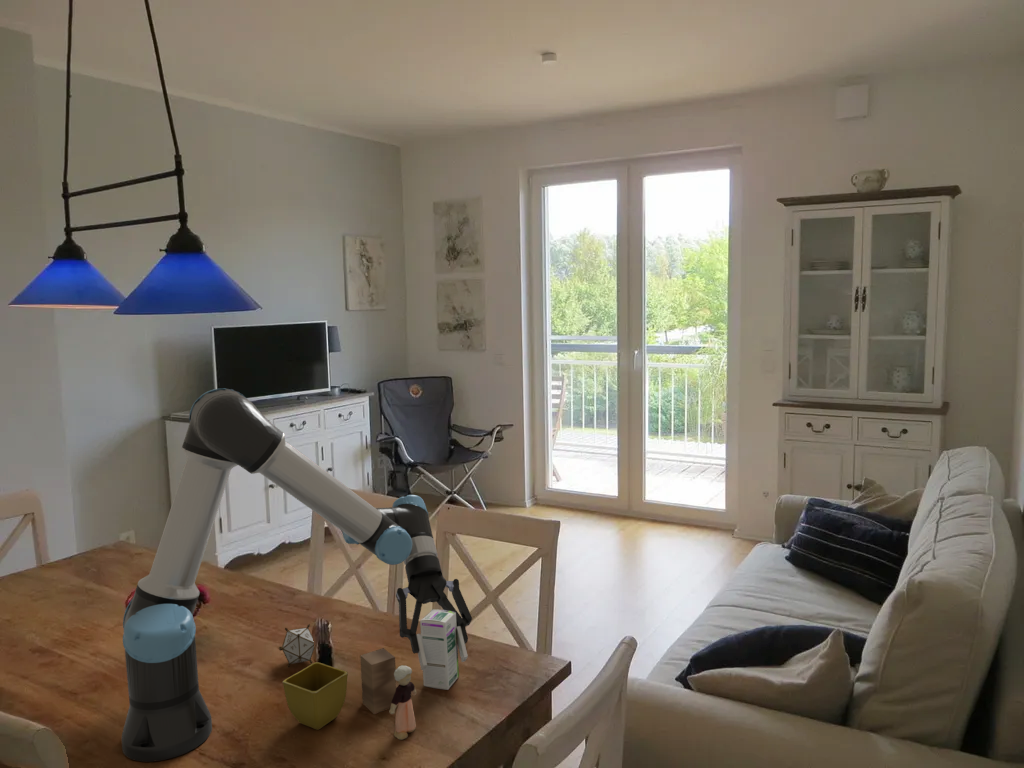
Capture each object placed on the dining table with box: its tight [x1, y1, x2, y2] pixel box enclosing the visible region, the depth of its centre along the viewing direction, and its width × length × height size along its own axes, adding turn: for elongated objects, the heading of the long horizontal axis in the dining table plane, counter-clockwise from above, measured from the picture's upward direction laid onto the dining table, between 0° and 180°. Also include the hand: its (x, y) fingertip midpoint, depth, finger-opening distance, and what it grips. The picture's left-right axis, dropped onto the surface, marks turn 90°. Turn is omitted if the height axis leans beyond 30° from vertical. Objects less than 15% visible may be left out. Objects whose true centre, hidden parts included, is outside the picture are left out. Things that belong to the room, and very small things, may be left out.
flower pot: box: [281, 661, 349, 730], centre depth 145 cm, size 9×9×9 cm
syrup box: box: [419, 608, 460, 691], centre depth 158 cm, size 6×6×14 cm
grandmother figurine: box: [388, 665, 417, 740], centre depth 141 cm, size 8×4×13 cm, turn 164°
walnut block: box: [359, 647, 397, 715], centre depth 151 cm, size 5×5×10 cm
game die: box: [278, 623, 315, 668], centre depth 169 cm, size 9×8×10 cm
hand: (444, 663), depth 156 cm, fingers closed on syrup box, 8 cm apart
